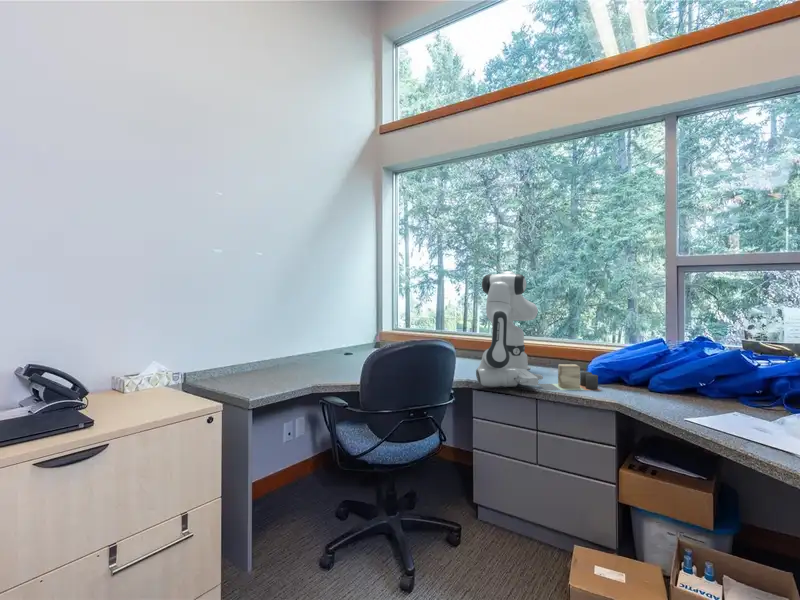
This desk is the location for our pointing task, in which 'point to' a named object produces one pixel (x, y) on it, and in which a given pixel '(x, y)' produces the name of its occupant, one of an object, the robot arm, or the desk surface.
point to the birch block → (568, 376)
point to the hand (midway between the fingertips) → (541, 377)
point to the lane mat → (556, 387)
